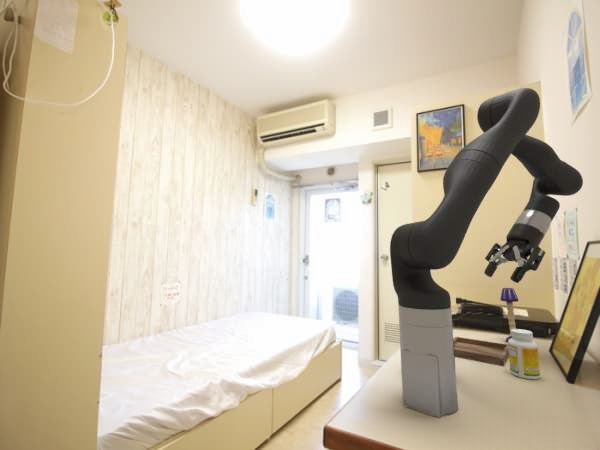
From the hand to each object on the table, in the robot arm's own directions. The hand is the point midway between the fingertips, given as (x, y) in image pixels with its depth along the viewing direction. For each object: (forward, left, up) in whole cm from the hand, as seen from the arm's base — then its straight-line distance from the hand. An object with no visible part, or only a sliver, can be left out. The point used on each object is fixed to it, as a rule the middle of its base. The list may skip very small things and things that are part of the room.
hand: (500, 278), depth 80 cm
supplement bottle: (-12, -5, -21) cm, 25 cm away
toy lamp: (+18, 0, -21) cm, 28 cm away
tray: (-1, +7, -21) cm, 22 cm away
